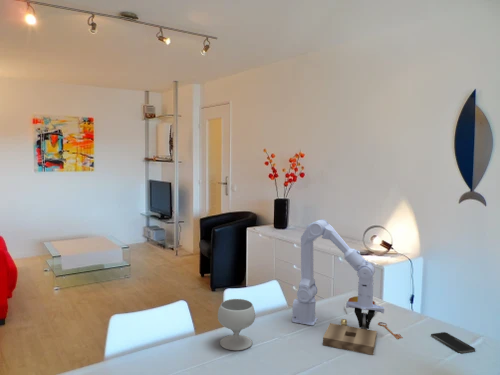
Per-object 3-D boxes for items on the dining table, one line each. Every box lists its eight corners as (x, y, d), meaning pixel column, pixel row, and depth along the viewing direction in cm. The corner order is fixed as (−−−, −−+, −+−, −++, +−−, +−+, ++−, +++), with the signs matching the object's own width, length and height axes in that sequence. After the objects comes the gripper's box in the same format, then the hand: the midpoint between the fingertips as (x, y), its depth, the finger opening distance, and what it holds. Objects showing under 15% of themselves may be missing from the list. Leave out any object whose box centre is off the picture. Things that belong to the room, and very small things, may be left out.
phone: (459, 352, 141) (429, 334, 155) (459, 355, 141) (429, 336, 155) (477, 349, 143) (445, 331, 158) (476, 352, 143) (445, 334, 158)
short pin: (340, 330, 159) (340, 320, 159) (341, 327, 161) (341, 318, 161) (346, 331, 158) (346, 321, 158) (347, 328, 161) (347, 319, 160)
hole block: (322, 345, 146) (323, 337, 146) (329, 330, 159) (330, 323, 159) (373, 355, 139) (373, 346, 139) (376, 338, 152) (376, 331, 152)
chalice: (209, 343, 146) (209, 304, 145) (236, 331, 156) (236, 295, 155) (236, 356, 136) (236, 315, 135) (262, 343, 147) (263, 304, 146)
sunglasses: (377, 307, 185) (378, 297, 184) (375, 324, 171) (376, 313, 170) (347, 303, 190) (347, 293, 189) (342, 319, 176) (342, 308, 175)
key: (407, 340, 153) (389, 324, 167) (407, 338, 152) (389, 322, 167) (393, 340, 152) (376, 323, 167) (393, 337, 152) (376, 321, 167)
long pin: (360, 333, 156) (361, 314, 156) (361, 331, 158) (361, 312, 158) (366, 334, 155) (367, 315, 155) (367, 332, 158) (368, 313, 157)
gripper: (345, 294, 155) (344, 327, 156) (384, 300, 149) (382, 334, 150) (348, 289, 161) (346, 321, 162) (385, 294, 156) (383, 327, 157)
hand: (364, 327), depth 157 cm, fingers closed on long pin, 2 cm apart
